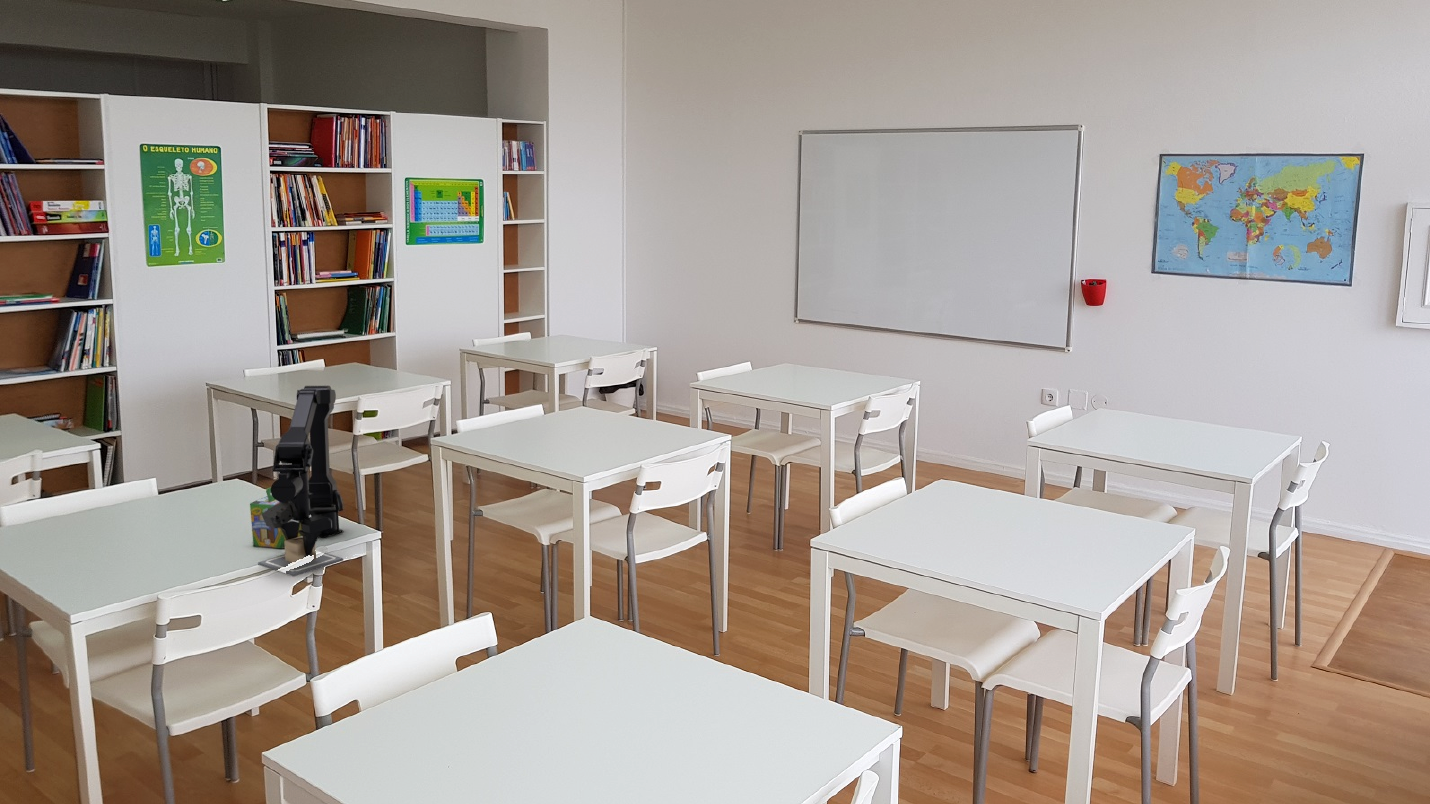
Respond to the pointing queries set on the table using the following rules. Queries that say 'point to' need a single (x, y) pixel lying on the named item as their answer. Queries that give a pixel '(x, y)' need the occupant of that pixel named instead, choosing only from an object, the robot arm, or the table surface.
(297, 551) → the letter cube
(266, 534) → the chalk box
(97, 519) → the table surface
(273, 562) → the slate pad
